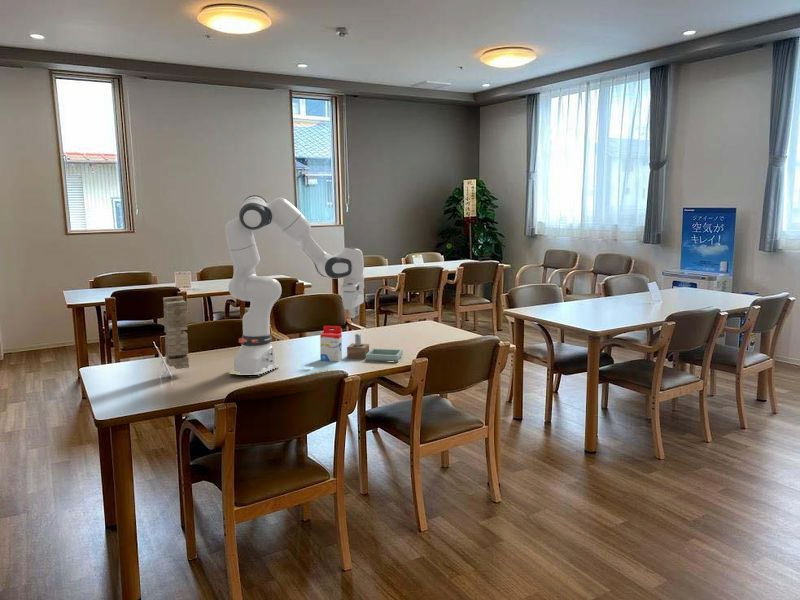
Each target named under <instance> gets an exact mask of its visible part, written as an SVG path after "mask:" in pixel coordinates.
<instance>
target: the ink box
mask: <svg viewBox="0 0 800 600" xmlns="http://www.w3.org/2000/svg"><path fill="white" fill-rule="evenodd" d="M342 337H343V335H342V326H339V325H323V332H322V333H320V339H319V340H320V341H319V342H320V345H319V347H320V351H319V352H320V353H319V354H320V356H319V357H320V361H322V362H323V361H324V362H340V361H341V360H342V358H343V357H342V356H343V355H342V352H343V349H342V344H343V341H342V340H343V339H342Z"/></svg>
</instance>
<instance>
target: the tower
mask: <svg viewBox="0 0 800 600" xmlns="http://www.w3.org/2000/svg"><path fill="white" fill-rule="evenodd" d="M162 301H163V323H164V330H163V331H164V333H165V336H164V341H165V342H164V343H165V344H164V345H165V347H164V348H165V363H166V364H167V366H169V367H174V368H175V369H176V370H182V369H189V368H190V363H189V361H190V359H189V357H188V354H189V344H188V343H189V340H188V333H187V332H186V331H187V330H188V318H187V317H188V312H187V311H188V310H187V309H188V306H187V301H185V300H184V296H183V295H181V296H170V297H169V296H167V297H162Z"/></svg>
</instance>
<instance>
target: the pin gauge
mask: <svg viewBox="0 0 800 600" xmlns="http://www.w3.org/2000/svg"><path fill="white" fill-rule="evenodd" d="M354 336H355V337H354V339H355V340H354V341H355V346H356V347H361V344H362V343H361V341H362V340H361V339H362V337H361V336H362V335H361V333H356V334H355V335H354Z"/></svg>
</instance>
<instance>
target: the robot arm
mask: <svg viewBox="0 0 800 600" xmlns="http://www.w3.org/2000/svg"><path fill="white" fill-rule="evenodd" d="M271 224H273V225H275V226H276V227H277V228H278V229H279V230H280V232H281V233H283V235H285V237H287V238H288V239H289V240H290V241H291V242H294V244H296V245H297V246H298V247H300V248H301V249H302V251H304V253H306V254H307V256H308V257H309V258H310V259H311V261H312V262H313V264H314V267H315V270H316V272H317V273H318V274H319V275H320V276H321V277H323V278H328V279H334V280H335V279H336V280H337V279H340V278H343V279H342V280H343V283H342V285H341V287H340V289H341V292H342V304H343V309H344V310H348V312H349V317H350V318H351V319H354V318H355V317H357V316H359V315H360V309H361V308H360V305H362V304H364V302H365V293H364V289H365V276H364V270H365V269H364V268H365V267H364V266H365V264H364V254H363V251H362V250H361V249H359V248H356V247H350V246H346V247H344V248H342V250H340V251H339V252H337V253H335V254H330V253H328V252H326V251H324V250H323V249H322V247H321V246H320V245H319V244H318V243H317V241H316V240H315V239H314V238H313V236H312V233H311V232H312V226H311V224H310V222H309V221H308V219H307V217H306V216H305V215H304V214H303V213H302V212H301V211H300V210H299V209H298V208H297V207H296V206H295V205H294V204H293V203H292V202H290V201H289V200H288V199H286V198H284V197H276V198H275V199H272V201H269V202H267V201H266V199H265V198H263V197H262V196H261V195H256V194H255V195H249V196H248V197H246V199H244V200H243V202H242V203H241V205H240V208H239V213H238V217H236V218H233V219H231V220H229V221H228V222H227V223H226V224H225V226H224V231H225V241H226V245H227V248H228V251H229V254H230V258H231V262H232V266H233V276H232V278H231V279H230V281H229V283H228V293H229V294H230V295H231V297H232V298H234V299H237V300H239V301H242V302H250V305H249V309H248V311H246V312H245V313H244V314H243V316H242V335H241V337H240V338H238V343H239V344H241V346H240V348H238V351H237V353H236V355H235V357H234V360H233V367H234V371H237V372H240V374H251V375H258V374H262V373H264V374H266V373H268V372H267V371H269V372H271V371H273V370H272V369H274V370H276V369H278V367H279V368H280V365H279V364H278V363H277V361H276V360H277V359H276V351H275V347H274V346H273V345H272V333H271V331H270V329H271V328H270V327H271V326H270V323H271V321H270V316H271V312H272V309H273V307H274V304H275V303H276V302H277V301H278V300H279V299H280V298H281V295H282V286H281V283H280V282H279V280H278V279H275V278H272V277H269V276H263V275H262V276H261V275H259V276H258V275H257V273H256V267H257V266H258V265H259V263H260V262H261V257H260V253H259V248H258V247H257V243H256V239H255V238H256V237H255V235H254V231H256V230H259V229H262V228H263V227H266V226H268V225H271ZM275 368H276V369H275ZM270 370H271V371H270ZM265 372H266V373H265ZM262 375H263V374H262ZM258 376H259V375H258Z"/></svg>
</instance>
